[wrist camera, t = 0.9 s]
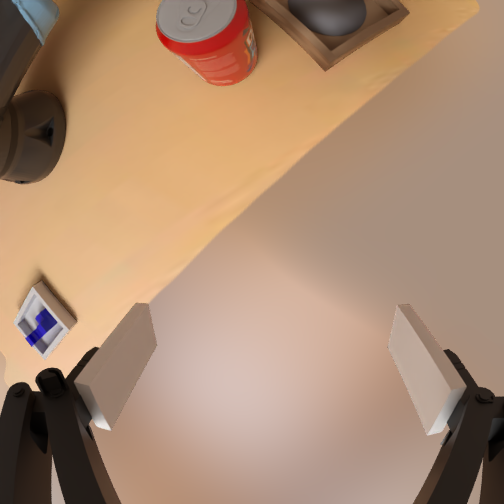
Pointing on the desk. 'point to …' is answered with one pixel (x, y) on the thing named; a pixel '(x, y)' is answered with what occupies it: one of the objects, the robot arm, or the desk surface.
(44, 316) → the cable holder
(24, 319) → the grey desk tray
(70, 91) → the desk surface
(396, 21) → the walnut box
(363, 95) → the desk surface
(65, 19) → the desk surface
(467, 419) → the robot arm
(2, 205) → the desk surface
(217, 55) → the soda can
